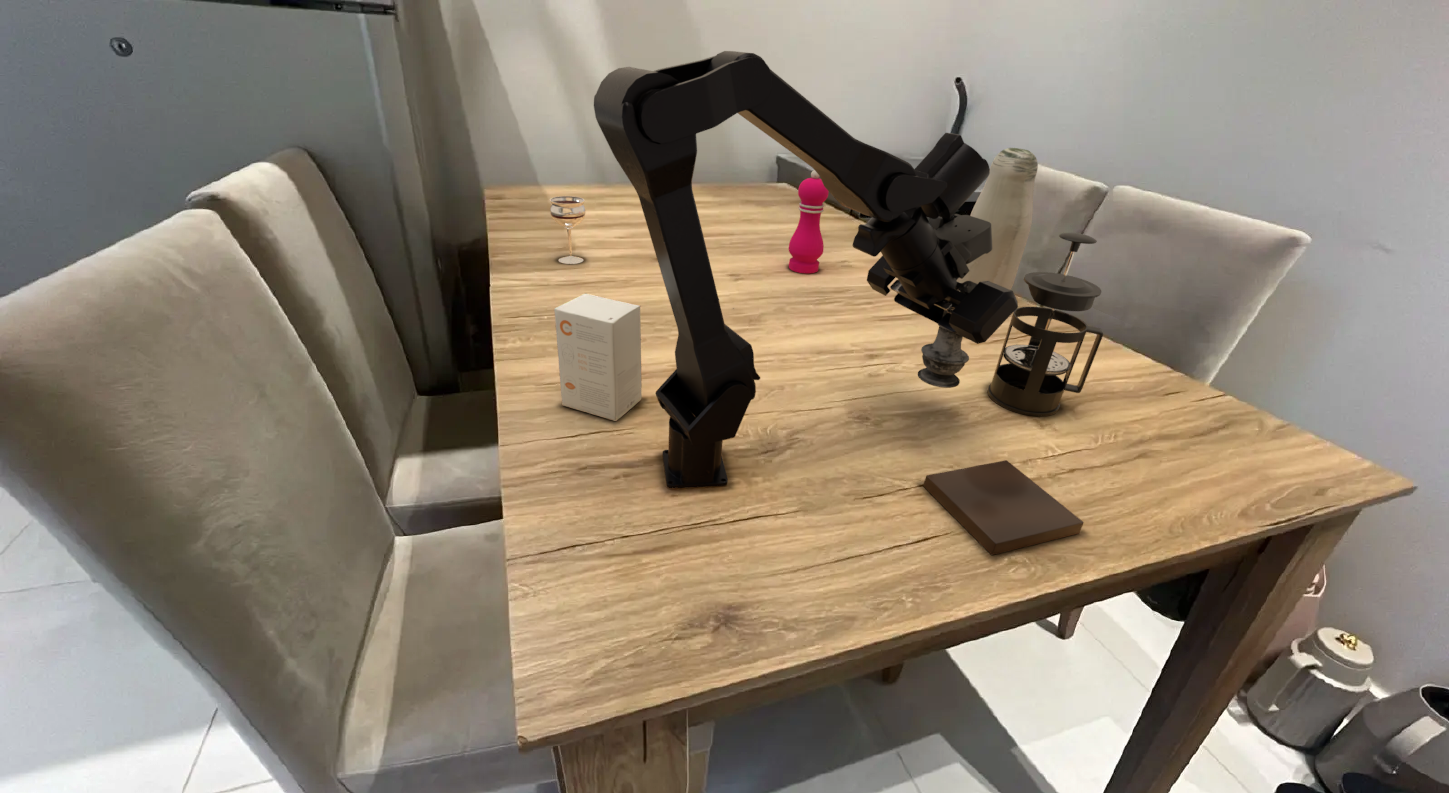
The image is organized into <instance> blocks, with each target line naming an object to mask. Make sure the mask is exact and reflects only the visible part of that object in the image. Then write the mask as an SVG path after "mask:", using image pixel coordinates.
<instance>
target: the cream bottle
mask: <svg viewBox="0 0 1449 793" xmlns="http://www.w3.org/2000/svg"><path fill="white" fill-rule="evenodd" d="M1038 163H1039V162H1038V159H1037V156H1036V155H1035V154H1034V153H1033V152H1032V151H1030V150H1028V149H1024V148H1019V147H1007V148H1004V149H1002V150H1000V151H999V152H998V153H997V154H996V155H995V157H994V158H993V161H992V162H991V165H990V166H989V168H990V174H989V176H988V177H987V178H986V180H985V183H984V186H983V188H982V190H981V192H980V193H979V195H978V197H977V199H976V202H975V204H974V205H973V208H972V210H971V213H970V215H969V216H972V217H976V218H979V219H982V220H985V221H988V222H990V223H991V229H992V250H991V251H990V252H989V253H987V254H986V253H985V254H983V255H982V256H980V257H979V258H977V259H975V260H974V261H972V262H971V263H969V264H966V265H967V267H968V269H969V272H968V273H967V274H966V275H965V276H964V278H963V279H961V278H958V279H957V280H956V281H957V282H959V283H963V282H965V281H972V282H974V283H976V284H978V283H979V282H982V281H990V282H992V283H995V284H997V285H1000V286H1002V287H1004V288H1007V289H1009V290H1012V288H1013V285H1014V283H1015V281H1016V277H1017V275H1018V270H1019V267H1020V265H1021V261H1022V258H1023V255H1024V251H1025V249H1026V245H1027V243H1028V239H1029V236H1030V233H1031V229H1032V223H1033V212H1034V202H1033V201H1034V191H1035V180H1036V177H1037V174H1038V169H1039V165H1038Z"/></svg>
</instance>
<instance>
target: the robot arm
mask: <svg viewBox="0 0 1449 793" xmlns="http://www.w3.org/2000/svg"><path fill="white" fill-rule="evenodd" d="M593 109H594V116H595V120H596V122H597V125H598V126H599V129H600V130H601V132H602V135H603V136H604V139H605V140H606V142H607V145H608V146H609V149H610V150H611V152H612V154H613V157H614V158H615V161H616V162H617V163H618V165H619V166H620V168H621V170H622V171H623V172H624V174H625V175H626V177H627V179H628V180H629V182H630V183H631V185H632V187H633V188H634V190H635V192H636V194H637V196H638V199H639V203H640V206H641V209H642V213H643V216H644V219H645V223H646V226H647V231H648V233H649V237H650V240H651V243H652V246H653V249H654V250H653V251H654V254H655V256H656V259H657V263H658V267H659V270H660V273H661V276H662V280H663V283H664V287H665V291H666V294H667V297H668V301H669V304H670V307H671V310H672V314H673V318H674V321H675V324H676V327H677V328H676V329H677V333H678V336H677V340H676V344H675V350H674V357H675V367H676V369H675V370H674V371H673V372H671V374H670V375H669V376H668V378H667V379H666V380H665V381H664V382H663V383H662V384H661V385H660V386H659V387H658V388H657V390H656V391H655V397H656V399H657V401H658V404H659V407H660V408H661V409H662V410H664V411H665V413H666V414H667V415H668V416H669V419H668V448H667V449H664V450H662V462H663V472H664V481H665V486H666V488H667V489H691V488H693V489H694V488H710V487H711V488H713V487H726V486H727V485H728V484H729V479H728V475H727V471H726V467H725V463H724V459H723V456H722V454H723V441H725V440H729V439H734V438H735V437H736V436H737V433H738V430H739V428H740V426H741V425H742V421H743V420H744V416H745V415H746V412H747V410H748V407H749V405H750V403H751V401H752V400H754V399H755V398H756V392H757V389H756V388H757V386H756V381H760V380H761V376H760V375H759V373H758V372H757V370H756V367H755V353H754V350H753V346H752V344H751V343H750V342H748V341H747V340H746V339H745V338H743V337H742V336H741V335H740V334H738V333H737V332H736V331H735V330H733V329H732V328H731V327H730V326H728V325H727V324H726V323H725V320H724V316H723V311H722V306H721V303H720V299H719V295H718V291H717V286H716V282H715V277H714V274H713V269H712V266H711V262H710V258H709V253H708V250H707V246H706V241H705V236H704V232H703V229H702V223H701V220H700V216H699V212H698V208H697V204H696V200H695V196H694V191H693V177H694V172H695V166H696V161H697V154H698V142H697V134H699V133H702V132H705V131H708V130H711V129H714V128H716V127H717V126H719V125H721V124H722V123H724V122H726V121H727V120H730V118H732V117H734V116H735V115H737V114H739V116H741V117H743V118H744V120H746V121H748V122H749V123H751V125H753V126H754V127H756V128H757V129H759V130H760V131H761V132H763V133H764V134H765V135H767V136H768V137H770V138H771V139H772V140H774V141H775V142H776V143H778V144H779V145H780V146H782V147H783V148H785V150H788V151H789V152H790V153H792V154H793V155H794V156H796V157H797V158H798V159H799V160H801V161H803V162H804V163H805V164H807V165H808V166H810V167H811V168H812V169H813V170H815V171H816V172H817V173H818V174H819V176H820V177H819V179H821V180H822V182H823V185H824V186H825V188H826V189H827V190H828V191H829V193H830V194H831V195H832V197H833V198H834V199H835V201H837V202H838V204H840V205H841V206H842V207H845V208H847V209H850V210H852V211H855V212H857V213H860V214H862V215H865V216H868V217H871V218H870V219H868V221H867V222H866V223H865V224H864V223H862V224H861V223H860V224H859V225H858V227H857V232H856V234H855V236H854V238H853V241H852V248H853V249H855V250H858V251H859V252H861V253H864V254H866V255H869V256H871V257H873V258H874V257H877V256H878V255H879V254H881V257H880V258H878V260H876V262H875V263H874V264H873V265H872V266H871V267H870V268H869V269H868V271H867V275H866V276H867V277H866V282H867V283H868V285H869V286H870V288H871V289H872V290H873V291H875V292H877V293H879V294H881V295H883V296H886V297H887V295H889V293H891V291H893V292H896V295H895V296H894V298H893V301H894V302H895V303H897V304H898V305H900V306H902V307H904V308H905V309H908V310H910V311H912V312H914V313H916V314H917V315H920V316H922V317H923V318H926V319H928V320H930V321H932V322H933V323H936V324H937V325H938V326H939V325H940V326H942V327H944V328H946V329H948V330H950V331H951V332H953V333H956V334H958V335H960V336H962V337H963V338H965V339H966V340H969V341H971V342H973V343H975V344H976V345H978V344H984V343H986V342H987V341H988V340H989V339H990V338H991V337H992V336H993V335H994V334H995V332H996V331H997V330H998V329H999V328H1000V327H1001V326H1002V325H1003V324H1004V323H1005V322H1006V321H1007V320H1008V318H1009V317H1011V316H1012V315H1013V312H1014V311H1015V310H1016V309H1017V308H1019V304H1018V303H1019V302H1018V299H1017V296H1016V295H1015V293H1014V291H1013V290H1012V289H1011V290H1009V289H1007V288H1004V287H1002V286H1000V285H997V284H995V283H992V282H990V281H982V282H979V283H978V284H976V283H974V282H972V281H965V282H963V283H959V282H957V281H956V280H957V279H958V278H961V279H963V278H964V276H965V275H966V274H967V273H968V272H969V269H968V267H967V265H966V264H969V263H971V262H972V261H974V260H975V259H977V258H979V257H980V256H982V255H983V254H985V253H986V254H987V253H989V252H990V251H991V250H992V229H991V223H990V222H988V221H985V220H982V219H979V218H976V217H972V216H970V215H969V214H962V215H961V214H959V213H956V212H957V211H959V209H960V208H961V207H962V206H963V205H964V204H965V203H966V202H967V200H968V199H969V198H970V197H971V196H972V195H973V194H974V193H975V192H976V191H977V190H978V189H979V187H980V186H981V185H982V184H983V183H984V182H986V180H987V177H988V176H989V174H990V164H989V163H988V160H987V159H985V158H983V157H982V155H981V154H980V153H979V152H978V151H977V150H976V149H974V147H972V146H970V145H969V144H967V143H965V141H964V139H963V137H962V135H961V134H957V133H953V132H952V133H951V132H944V134H943V135H942V136H941V137H940V138H939V139H938V141H937V142H936V143H935V145H934V147H933V148H932V149H931V150H930V152H928V153H927V154H926V156H925V157H924V158H923V159H921V161H920V162H919V163H918V164H917V165H916V167H914V166H913V165H912V164H911V163H910V162H908V161H906V160H904V159H902V158H900V157H898V156H896V155H894V154H892V153H890V152H888V151H885V150H882V149H881V148H877V147H875V146H873V145H871V144H868V143H865V142H864V141H861V140H859V139H857V138H855V137H854V136H852V135H851V133H849V132H848V131H847V130H845V129H844V128H842V126H840V125H839V124H838V123H836V122H835V120H833V119H832V118H831V117H829V115H827V114H826V113H824V112H823V111H822V110H821V109H820V108H818V107H817V106H816V105H814V104H813V103H812V102H811V101H810V100H808V98H806V97H805V96H804V95H802V94H801V93H800V92H799V91H798V90H797V89H795V88H794V87H793V86H791V85H790V84H789V83H788V82H787V81H786V80H784V79H783V78H782V77H781V76H780V75H778V74H777V73H776V72H774V70H772V69H771V68H770V66H769V65H768V64H767V63H766V61H765V60H764V58H763V57H762V56H760V55H759V54H756V53H754V52H745V51H734V50H724V51H721V52H718V53H717V54H716V55H713V56H709V57H706V58H704V59H700V60H695V61H689V62H686V63H681V64H677V65H671V66H668V67H663V68H658V69H655V70H648V69H644V68H637V67H632V66H625V67H617V68H616V69H614V70H612V71H611V72H609V73H607V75H606V76H605V77H604V78H603V79H602V80H601V82H600V84H599V86H598V88H597V91H596V93H595V95H594V96H593ZM895 279H896V280H895ZM893 281H894V282H893ZM892 282H893V283H892ZM891 283H892V284H891ZM888 286H890V288H889V287H888ZM944 310H946V311H947V313H946V314H945V315H944V317H943V318H942V316H943V312H944ZM939 320H940V321H939ZM938 321H939V322H938Z"/></svg>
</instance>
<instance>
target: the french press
mask: <svg viewBox="0 0 1449 793" xmlns="http://www.w3.org/2000/svg"><path fill="white" fill-rule="evenodd" d="M1058 237H1059V238H1060V239H1062V240H1064V241H1068V242H1071V244H1070V246H1069V252H1070V254H1069V255H1070V256H1069V258H1068V260H1067V263H1066V266H1065V268H1064V272H1063V273H1057V272H1049V271H1035V272H1030V273H1029V272H1028V273H1026V274H1025V275H1024V277H1023V281H1024V283H1025V284H1027V286H1028V290H1029V292H1030V296H1031V297H1032V299H1033V301H1034V302H1035V303H1036V304H1037V305H1040V306H1019V307H1018V308H1017V309H1016V310H1015V311H1014V312H1013V313H1012V314H1011V318H1010V321H1009V325H1008V328H1007V332H1006V335H1005V338H1004V340H1003V341H1004V342H1003V344H1002V348H1001V351H1000V354H999V356H998V357H999V358H998V360H997V364H996V367H995V370H994V374H993V377H992V380H991V383H990V384H989V385H988V387H987V390H986V391H987V396H988V397H989V398H990V400H992V401H993V402H995V404H997V406H1000V407H1002V408H1004V409H1006V410H1008V411H1011V412H1014V413H1016V414H1021V415H1024V416H1025V415H1026V416H1030V417H1032V416H1033V417H1049V416H1054V415H1055V414H1057V413H1058V412H1059V410H1060V408H1061V400H1062V397H1063V395H1064V392H1071V393H1076V394H1080V393H1081V392H1082V390H1083V388H1084V385H1085V382H1086V380H1087V378H1088V375H1089V373H1090V370H1091V367H1092V365H1093V362H1094V360H1095V357H1096V355H1097V352H1098V350H1099V347H1100V344H1101V342H1102V340H1103V337H1104V331H1103V329H1102V328H1101V327H1096V326H1091V325H1087V323H1086V322H1085V321H1084V320H1083V319H1080V318H1079V317H1077V316H1076V315H1073V314H1070V313H1068V312H1084V311H1085V312H1086V311H1089V310H1090V309H1092V307H1093V305H1094V302H1095V299H1096V298H1098V297H1100V296H1101V294H1102V289H1101V288H1100V287H1099V286H1098V285H1096V284H1095V283H1094V282H1091V281H1088V280H1085V279H1082V278H1080V277H1076V276H1073V275H1069V274H1068V273H1069V270H1070V267H1071V265H1072V261H1073V259H1074V255H1075V253H1078V250H1079V248H1080V246H1081V244H1083V245H1084V244H1085V245H1094V244H1097V243H1098V242H1097V241H1098V240H1097V239H1096V238H1094V237H1093V236H1090V235H1087V234H1084V233H1079V232H1062V233H1060V234H1058ZM1065 311H1067V312H1065ZM1021 317H1037V318H1036V320H1035V323H1034V325H1032V324H1029V323H1027V322H1025V321H1023V320H1022V319H1020V318H1021ZM1052 320H1053V321H1057V322H1061V323H1064V324H1066V325H1069V326H1071V327H1073V328H1075V330H1078V331H1077V332H1060V331H1055V330H1054V331H1053V330H1050V325H1051V323H1052ZM1012 328H1014V329H1016V330H1017V331H1019V332H1020V333H1022V334H1024V335H1026V336H1029V337H1030V338H1029V342H1028V344H1012V345H1008V341H1009V338H1010V335H1011V332H1012ZM1087 333H1089V334H1094V335H1096V336H1095V339H1094V341H1093V344H1092V347H1091V349H1090V352H1089V355H1088V357H1087V360H1086V362H1085V364H1084V367H1083V370H1082V372H1081V375H1080V378H1079V380H1078V383H1077V384H1076V385H1075V384H1071V383H1068V382H1069V378H1070V376H1071V374H1072V370H1073V368H1074V366H1075V363H1076V361H1077V358H1078V355H1079V352H1080V350H1081V348H1082V344H1083V341H1084V339H1085V337H1086V334H1087ZM1057 343H1058V344H1059V343H1060V344H1074V343H1076V345H1075V347H1074V351H1073V353H1072V356H1071V359H1070V361H1069V360H1068V358H1066V357H1064V356H1063V355H1061V354H1060V353H1058V352H1056V351H1055V348H1056V345H1057ZM1007 345H1008V346H1007ZM1003 358H1004V360H1005V361H1006V362H1008V363H1004V364H1001V363H1002V360H1003ZM1064 374H1065V375H1064ZM1061 375H1064V377H1063V379H1061V377H1059V376H1061ZM1020 387H1022V388H1023V389H1022V388H1020Z"/></svg>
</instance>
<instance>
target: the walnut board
mask: <svg viewBox="0 0 1449 793" xmlns="http://www.w3.org/2000/svg"><path fill="white" fill-rule="evenodd" d="M923 488H924V489H925V490H926V491H928V493H929V494H930V495H931V496H932V497H933V498H934V499H935V500H937V501H938V503H940V505H941V506H942V507H943V508H944V509H945V510H946V511H947V512H948V513H949V514H950V515H951V516H952V517H953V518H954V519H955V520H956V521H957V522H958V523H959V524H960V525H961V526H962V527H963V528H964V529H965V530H966V531H967V532H968V533H969V534H970V535H971V536H972V537H973V538H974V539H975V540H976V541H977V542H978V543H979V544H980V545H981V546H982V547H983V548H984V549H985V551H987V552H988V553H989V554H990V555H991V556H995V555H998V554H1002V553H1006V552H1009V551H1015V550H1018V549H1023V548H1027V547H1030V546H1034V545H1039V544H1042V543H1046V542H1049V541H1054V540H1055V541H1056V540H1058V539H1063V538H1067V537H1070V536H1074V535H1079V534H1080V532H1081V530H1082V528H1083V526H1084V523H1085V522H1084V521H1083V520H1082V519H1080V518H1079V517H1078V516H1077V515H1075V514H1074V513H1073V512H1072V511H1071V510H1069V509H1068V508H1067V507H1066V506H1064V505H1063V504H1062V503H1061V502H1059V501H1058V500H1057V499H1056V498H1055V497H1053V496H1052V495H1051V494H1050V493H1048V492H1047V491H1046V490H1045V489H1044V488H1042V487H1041V486H1040V485H1038V484H1037V483H1035V482H1034V481H1033V479H1031V478H1030V477H1028V476H1027V475H1026V474H1025V473H1024V472H1022V471H1021V470H1020V469H1019V468H1017V467H1016V466H1015V465H1013V463H1012V462H1010V461H1009V460H1005V459H1004V460H1000V461H995V462H989V463H985V464H978V465H974V466H968V467H964V468H963V467H962V468H957V469H952V470H948V471H947V470H946V471H942V472H936V473H931V474H927V475H925V478H924V482H923Z"/></svg>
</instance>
